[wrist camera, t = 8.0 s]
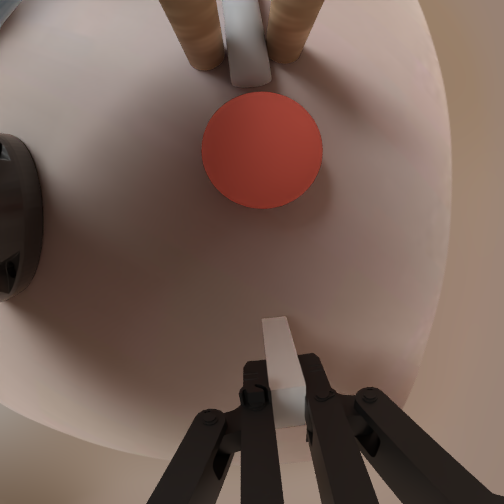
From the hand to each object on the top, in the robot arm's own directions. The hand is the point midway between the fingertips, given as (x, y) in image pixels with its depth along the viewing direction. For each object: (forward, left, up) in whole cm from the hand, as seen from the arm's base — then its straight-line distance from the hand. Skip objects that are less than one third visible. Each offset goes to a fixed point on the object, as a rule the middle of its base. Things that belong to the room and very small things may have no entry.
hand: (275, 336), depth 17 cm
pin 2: (+2, +18, -2) cm, 19 cm away
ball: (0, +11, +1) cm, 11 cm away
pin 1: (-3, +18, -2) cm, 19 cm away
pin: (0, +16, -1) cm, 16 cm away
